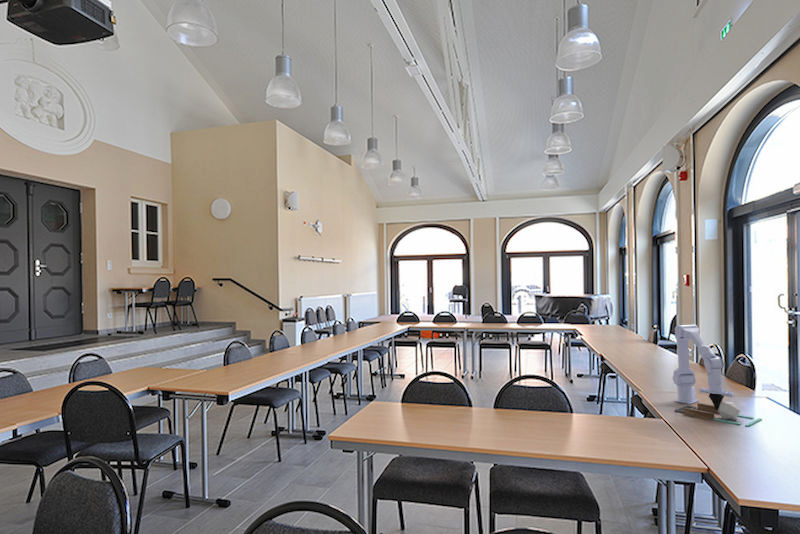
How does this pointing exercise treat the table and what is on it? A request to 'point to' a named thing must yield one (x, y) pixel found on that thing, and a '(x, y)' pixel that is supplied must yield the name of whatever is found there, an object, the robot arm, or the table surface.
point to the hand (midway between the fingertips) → (717, 409)
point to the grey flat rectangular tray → (683, 408)
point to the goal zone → (740, 423)
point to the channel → (702, 413)
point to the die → (728, 410)
